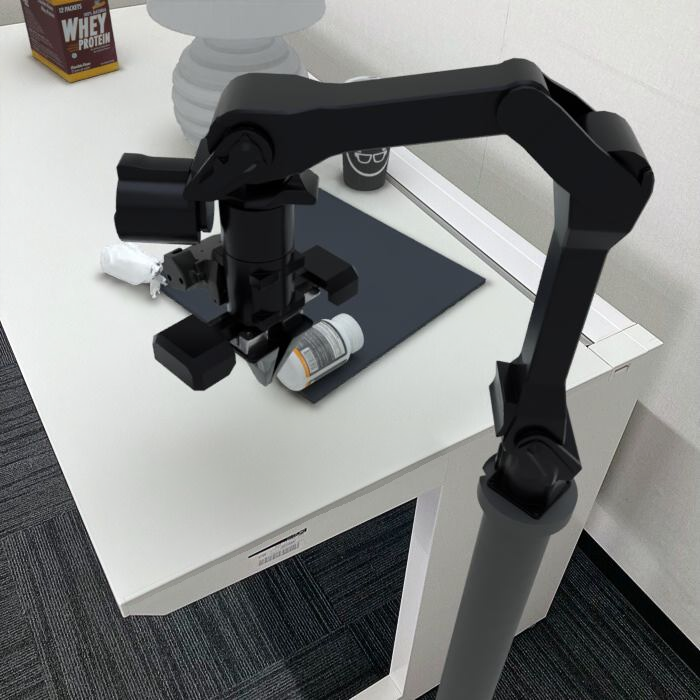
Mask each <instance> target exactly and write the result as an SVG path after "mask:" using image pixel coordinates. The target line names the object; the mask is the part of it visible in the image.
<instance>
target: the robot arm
mask: <svg viewBox="0 0 700 700" xmlns="http://www.w3.org/2000/svg"><path fill="white" fill-rule="evenodd" d="M380 78H381V79H373V80H365V81H356V82H348V83H344V82H341V83H340V82H323V81H320V80H316V79H312V78H310V77H309V78H306V77H303V76H299V75H295V74H275V73H247V74H244V75H240V76H237V77H235V78H234V79H232V80H231V81H230V82H229V84H228V85H227V86H226V88H225V89H224V90H223V92H222V93H221V95H220V98H219V101H218V104H217V107H216V110H215V113H214V116H213V119H212V122H211V125H210V128H209V131H208V133H207V134H206V135H205V137H204V138H202V139H201V140H200V143H199V146H198V149H196V152H195V155H194V158H190V157H175V156H174V157H173V156H172V157H171V156H170V157H169V156H152V155H147V154H143V153H138V152H123V153H122V154H121V156H120V159H119V160H118V162H117V165H116V166H115V169H116V174H117V183H116V191H115V213H114V214H113V222H114V228H115V231H116V234H117V237H118V238H119V240H120V241H121V242H122V243H124V242H133V243H136V244H137V243H138V244H140V243H142V244H158V245H159V244H161V245H180V246H188V247H186V248H184V249H183V248H182V247H177V248H175V249H173V250H171V251H169V252H167V253H165V254H163V262H164V271H165V274H166V277H167V280H168V282H169V284H170V285H171V286H172V287H173V288H176V289H179V290H183V291H188V290H190V289H191V288H195V287H197V288H200V289H204V290H208V291H209V293H210V300H211V301H212V302H214V303H215V304H216V305H218V306H221V305H223V304H224V305H226V306H227V308H228V311H227V312H225V313H223V314H221V315H220V316H218V317H216V318H214V319H213V320H211V321H209V322H207V323H204V322H203V321H202V320H200V319H199V318H198V317H196V316H195V315H194V314H192V313H191V314H190V315H188V316H186V317H184V318H182V319H181V320H179V321H177V322H175V323H173V324H171V325H170V326H168V327H167V328H164V329H163V330H160V331H159V332H158V333H155V334H153V336H152V343H151V345H152V350H153V356H154V360H155V361H156V362H157V363H159V364H160V365H161V366H163V368H165V369H166V370H167V371H168V372H170V373H171V374H172V375H174V376H175V377H176V378H178V380H179V381H181V382H182V383H183V384H185V385H186V386H187V387H189V388H190V389H191V390H192V391H193V392H205V391H207V390H208V389H209V388H211V387H213V386H214V385H216V384H217V383H219V382H221V381H223V380H224V379H225V378H227V377H229V376H230V375H231V374H232V372H233V370H234V368H235V367H236V365H237V356H239V357H240V358H241V359H243V360H244V361H245V362H246V363H247V366H248V367H249V369H250V370H251V372H252V374H253V376H254V377H255V379H256V380H257V382H258V383H259V384H261V385H262V386H263V387H264V388H266V387H268V386H269V385H271V384H272V383H274V382H273V381H275V379H276V377H277V374H278V373H279V371H280V370H281V368H282V367H283V365H284V364H285V362H286V360H287V359H288V358H289V356H290V355H291V353H292V352H293V350H294V349H295V348H296V346H297V345H298V344H299V342H300V341H301V339H302V338H303V337H304V335H305V334H306V333H307V332H308V331H309V330H310V329H312V327H313V320H312V319H310V318H309V317H307V316H306V315H304V314H303V309H302V307H303V306H305V303H306V302H308V301H310V300H311V299H313V298H315V297H316V296H318V295H319V294H320V290H319V289H318V288H322V289H324V290H325V291H327V292H328V301H329V302H331V303H332V304H334V305H336V306H340V305H341V304H343V303H345V302H346V301H348V300H349V299H351V298H352V297H354V296H356V295H357V294H358V283H359V276H358V273H357V271H356V269H355V268H354V266H352V265H351V264H349V263H347V262H346V261H344V260H342V259H341V258H339V257H337V256H335V255H334V254H332V253H330V252H329V251H327V250H325V249H324V248H322V247H320V246H319V245H316V246H314V247H312V248H310V249H308V250H307V251H305V252H303V253H300V252H298V251H297V250H295V244H294V205H310V206H312V205H315V204H316V202H317V196H318V187H319V185H320V176H319V175H318V174H317V173H315V172H314V171H312V170H311V169H312V168H314V167H316V166H317V165H319V164H320V163H323V162H324V161H326V160H328V159H329V158H333V157H336V156H340V155H342V154H344V153H348V152H357V151H366V150H375V149H383V148H399V147H408V146H409V147H410V146H419V145H426V144H427V145H428V144H433V143H434V144H436V143H444V142H452V141H453V142H454V141H462V140H470V139H471V140H472V139H480V138H490V137H497V136H507V137H509V138H510V139H511V140H512V141H514V142H515V143H516V144H518V145H519V146H520V147H521V148H523V149H524V151H525V152H526V153H527V154H528V155H529V156H530V157H531V158H532V159H533V160H534V161H535V163H536V164H538V165H539V166H540V168H541V169H542V170H543V171H544V172H545V173H546V174H547V175H548V176H549V177H550V179H552V187H553V190H552V191H553V214H554V215H553V216H554V217H553V218H554V221H553V222H554V223H553V225H554V226H553V230H552V233H551V238H550V241H549V246H548V249H547V253H546V257H545V261H544V264H543V268H542V271H541V275H540V279H539V282H538V287H537V290H536V294H535V297H534V301H533V306H532V309H531V313H530V316H529V321H528V324H527V327H526V331H525V335H524V339H523V343H522V347H521V350H520V353H519V355H518V356H517V357H516V358H514V359H512V360H511V361H510V362H508V361H503V360H496V361H495V375H494V377H493V379H492V381H491V382H490V384H489V385H488V392H489V399H490V406H491V412H492V419H493V426H494V435H495V438H500V442H499V443H498V448H497V452H496V453H497V456H496V460H495V464H494V470H496V472H495V473H494V474H493V475H492V476H491V477H490V478H489V479H488V480H487V486H488V487H489V488H490V489H492V490H493V491H495V492H496V493H498V494H499V495H500V496H502V497H503V498H505V499H506V500H508V501H509V502H510V503H512V504H513V505H515V506H516V507H517V508H519V509H520V510H522V511H523V512H525V513H526V514H527V515H529V516H530V517H532V518H533V519H535V520H539V519H541V518H542V516H543V515H544V514H545V513H546V512H547V511H548V510H549V509H550V508H551V507H552V506H553V505H554V504H555V503H556V502H557V501H558V500H559V499H560V497H561V496H562V495H563V494H564V493H565V492H566V491H567V490H568V489H569V488H570V486H571V480H572V479H573V478H574V479H575V478H576V476H578V474H579V473H581V471H582V470H583V466H582V461H581V458H580V454H579V450H578V445H577V441H576V435H575V433H574V428H573V423H572V421H571V416H570V412H569V408H568V404H567V403H568V402H567V379H568V376H569V373H570V370H571V367H572V365H573V361H574V358H575V355H576V351H577V349H578V347H579V342H580V340H581V336H582V333H583V330H584V327H585V324H586V321H587V318H588V315H589V312H590V309H591V307H592V303H593V301H594V297H595V295H596V291H597V288H598V285H599V283H600V282H599V281H600V279H601V275H602V273H603V270H604V267H605V264H606V261H607V257H608V255H609V253H610V251H611V250H612V248H613V247H614V246H617V244H618V243H619V242H620V241H622V240H623V239H624V238H626V236H628V235H629V234H630V233H631V232H632V231H633V230H634V228H635V226H636V224H637V222H638V220H639V219H640V217H641V215H642V213H643V211H644V210H645V208H646V206H647V205H648V203H649V202H650V199H651V197H652V195H653V193H654V187H655V182H656V179H655V173H654V171H653V168H652V166H651V164H650V162H649V160H648V158H647V156H646V153H645V152H644V150H643V148H642V146H641V143H640V142H639V140H638V138H637V136H636V134H635V132H634V129H633V128H632V127H631V125H630V124H629V122H628V121H627V120H626V118H624V117H623V116H621V115H620V114H618V113H617V112H612V111H607V110H596V109H595V108H594V107H592V106H591V105H590V104H589V103H587V101H585V99H583V98H582V97H581V96H579V94H577V93H576V92H575V91H573V90H571V89H570V88H568V87H566V86H565V85H563V84H561V83H559V82H558V81H556V80H555V79H553V78H551V77H550V76H548V74H546V73H545V72H543V70H542V69H541V68H540V67H539V66H538V65H537V64H536V63H535V62H534V61H531V60H529V59H527V58H524V57H523V58H522V57H511V58H509V59H506V60H503V61H502V62H500V63H495V64H488V65H479V66H470V67H463V68H454V69H448V70H447V69H446V70H438V71H430V72H423V73H415V74H413V73H412V74H407V75H406V74H405V75H397V76H390V77H380ZM319 188H320V187H319ZM215 201H217V202H218V204H217V205H218V214H219V226H220V233H217V234H213V235H209V236H207V237H205V238H204V239H202V233H204V234H205V233H207V234H210V233H212V232H213V231H212V230H213V228H214V222H215V206H216V205H215V203H216V202H215ZM490 482H492V483H493V484H491V483H490ZM566 483H567V484H566ZM535 514H538V515H535Z"/></svg>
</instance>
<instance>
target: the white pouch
mask: <svg viewBox="0 0 700 700" xmlns="http://www.w3.org/2000/svg"><path fill="white" fill-rule="evenodd" d="M161 263H162V262H161V260H160V259H159V258H158V257H156V256H153V255H152V254H150V253H148V252H146V251H145V250H144V249H142V248H141V247H139V246H138V245H137V243H136V242H122V243H115V244H110V245H106V246H105V247H103V248H101V251H100V256H99V264H100V266H101V269H102V270H100V272H99V273H100V274H108V275H109V276H112V277H114V278H116V279H118V280H120V281H123V282H126V283H128V284H131V285H132V286H138V285H140V284H150V285H149V287H150V288H149V289H150V291H149V292H150V296H151V298H152V299H156V298H157V295H156V293H158V294H159V295H160V294H161V291H160V283H161V284H164V285H167V284H166V283H165V281H166V279H165V278H164V277H163V276H161V275H160V273H161V272H162V270H163V266H162V265H161Z"/></svg>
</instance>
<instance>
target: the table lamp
mask: <svg viewBox="0 0 700 700" xmlns="http://www.w3.org/2000/svg"><path fill="white" fill-rule="evenodd" d="M145 5H146V6H145V8H146V9H145V10H146V11H147V14H148V16H149V17H150V18H151V20H152V21H154V22H155V23H157V24H158V25H159V26H161V27H163V28H166V29H167V30H170V31H172V32H176V33H178V34H182V35H186V36H190V37H194V38H193V40H192V41H191V43H189V44H187V46H185V48H183V49H182V52H181V54H180V56H179V58H178V62H177V63H176V64H175V66H174V69H173V71H172V74H171V75H172V76H171V81H172V87H171V100H172V103H173V113H174V118H175V120H176V122H177V123H178V125H180V126H179V127H180V128H181V131H182V134H183V136H184V137H185V139H186V140H187V142H189V143H190V144H191V145H192V146H193V147H194V149H196V150H197V149H198V146H199V143H200V140H201V139H202V138H204V137H205V135H206V134H207V133H208V131H209V128H210V125H211V122H212V119H213V116H214V113H215V110H216V107H217V104H218V101H219V98H220V95H221V93H222V92H223V90H224V89H225V88H226V86H227V85H228V84H229V82H230V81H231V80H232V79H234V78H235V77H237V76H240V75H244V74H247V73H275V74H295V75H299V76H303V77H306V78H309V79H310V77H309V71H308V69H307V67H306V65H305V64H304V63H303V61H302V60H301V57H300V55H299V53H298V52H297V50H296V48H295V47H294V46H293V45H291V44H290V43H288V42H287V41H286V40H285V38H283V37H284V36H288V35H291V34H294V33H295V34H296V33H298V32H300V31H304V30H306V29H308V28H310V27H311V26H314V25H315V24H317V23H318V22H320V20H322V18H323V17H324V15H325V14H326V9H327V7H326V0H146V3H145Z"/></svg>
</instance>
